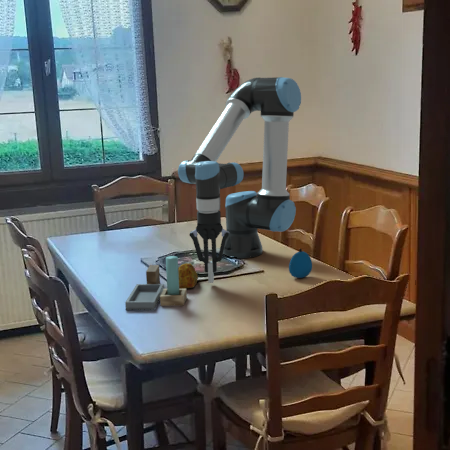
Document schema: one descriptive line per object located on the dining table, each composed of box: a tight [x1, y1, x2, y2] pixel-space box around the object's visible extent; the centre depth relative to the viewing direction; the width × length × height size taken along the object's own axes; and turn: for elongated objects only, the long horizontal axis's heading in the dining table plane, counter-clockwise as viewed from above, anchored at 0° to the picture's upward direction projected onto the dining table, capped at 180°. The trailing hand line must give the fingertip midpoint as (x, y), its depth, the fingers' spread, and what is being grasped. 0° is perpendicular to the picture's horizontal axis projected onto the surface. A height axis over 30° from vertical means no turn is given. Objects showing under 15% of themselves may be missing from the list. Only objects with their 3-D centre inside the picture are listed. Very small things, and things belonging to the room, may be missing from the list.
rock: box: [178, 262, 199, 290], centre depth 227 cm, size 11×8×10 cm
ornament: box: [288, 248, 313, 279], centre depth 230 cm, size 8×5×10 cm, turn 111°
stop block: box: [145, 264, 161, 284], centre depth 227 cm, size 3×7×6 cm, turn 175°
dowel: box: [165, 255, 179, 295], centre depth 210 cm, size 4×4×14 cm
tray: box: [124, 283, 165, 311], centre depth 213 cm, size 9×17×2 cm, turn 175°
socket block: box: [159, 288, 188, 307], centre depth 212 cm, size 7×7×3 cm
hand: (211, 281), depth 225 cm, fingers closed
